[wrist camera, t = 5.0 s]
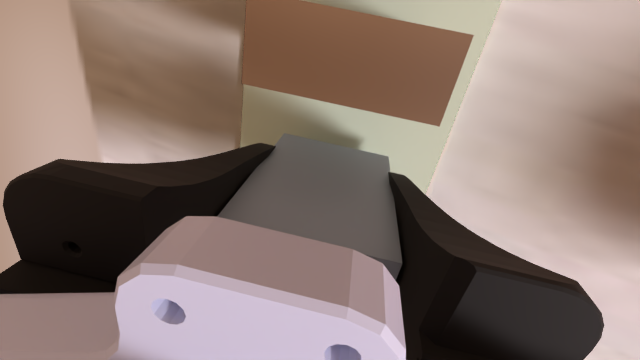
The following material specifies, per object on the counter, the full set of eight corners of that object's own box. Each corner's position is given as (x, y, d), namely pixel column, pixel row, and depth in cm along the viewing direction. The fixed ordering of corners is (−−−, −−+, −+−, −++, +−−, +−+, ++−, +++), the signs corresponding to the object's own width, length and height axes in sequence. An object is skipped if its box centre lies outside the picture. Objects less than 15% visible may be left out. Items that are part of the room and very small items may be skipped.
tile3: (408, 80, 12) (439, 126, 7) (300, 57, 12) (241, 83, 7) (422, 30, 11) (473, 35, 6) (307, 7, 12) (246, -11, 6)
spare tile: (376, 193, 13) (381, 316, 8) (279, 171, 14) (214, 274, 8) (388, 156, 13) (402, 263, 7) (284, 133, 13) (215, 218, 7)
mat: (384, 292, 18) (385, 296, 17) (235, 255, 18) (233, 259, 18) (725, -580, 6) (742, -608, 6) (290, -622, 7) (287, -649, 6)
